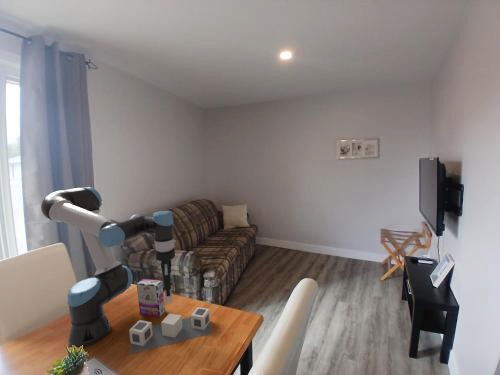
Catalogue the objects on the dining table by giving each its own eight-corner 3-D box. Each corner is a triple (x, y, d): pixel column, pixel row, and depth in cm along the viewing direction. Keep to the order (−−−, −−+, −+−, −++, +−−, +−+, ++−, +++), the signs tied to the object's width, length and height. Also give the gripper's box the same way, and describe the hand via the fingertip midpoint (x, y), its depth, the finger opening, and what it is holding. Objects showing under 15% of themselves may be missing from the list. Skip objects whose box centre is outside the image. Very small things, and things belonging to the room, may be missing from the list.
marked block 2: (191, 328, 108) (190, 315, 107) (198, 318, 114) (197, 306, 113) (204, 330, 106) (203, 317, 105) (210, 321, 112) (209, 308, 111)
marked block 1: (130, 343, 100) (128, 329, 99) (140, 332, 106) (139, 319, 105) (143, 346, 98) (141, 332, 97) (153, 335, 104) (151, 322, 103)
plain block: (162, 335, 104) (161, 322, 103) (170, 325, 110) (169, 313, 109) (174, 337, 102) (173, 324, 102) (182, 327, 108) (181, 315, 107)
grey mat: (129, 355, 95) (129, 354, 95) (134, 330, 108) (134, 329, 108) (212, 334, 104) (212, 333, 104) (207, 314, 118) (207, 313, 118)
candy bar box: (165, 311, 121) (163, 280, 118) (159, 318, 116) (157, 285, 113) (146, 308, 123) (143, 278, 121) (139, 315, 118) (136, 283, 116)
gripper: (174, 253, 96) (178, 308, 100) (174, 242, 109) (177, 291, 112) (154, 256, 94) (158, 312, 98) (156, 244, 106) (160, 294, 110)
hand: (168, 301), depth 105 cm, fingers closed
